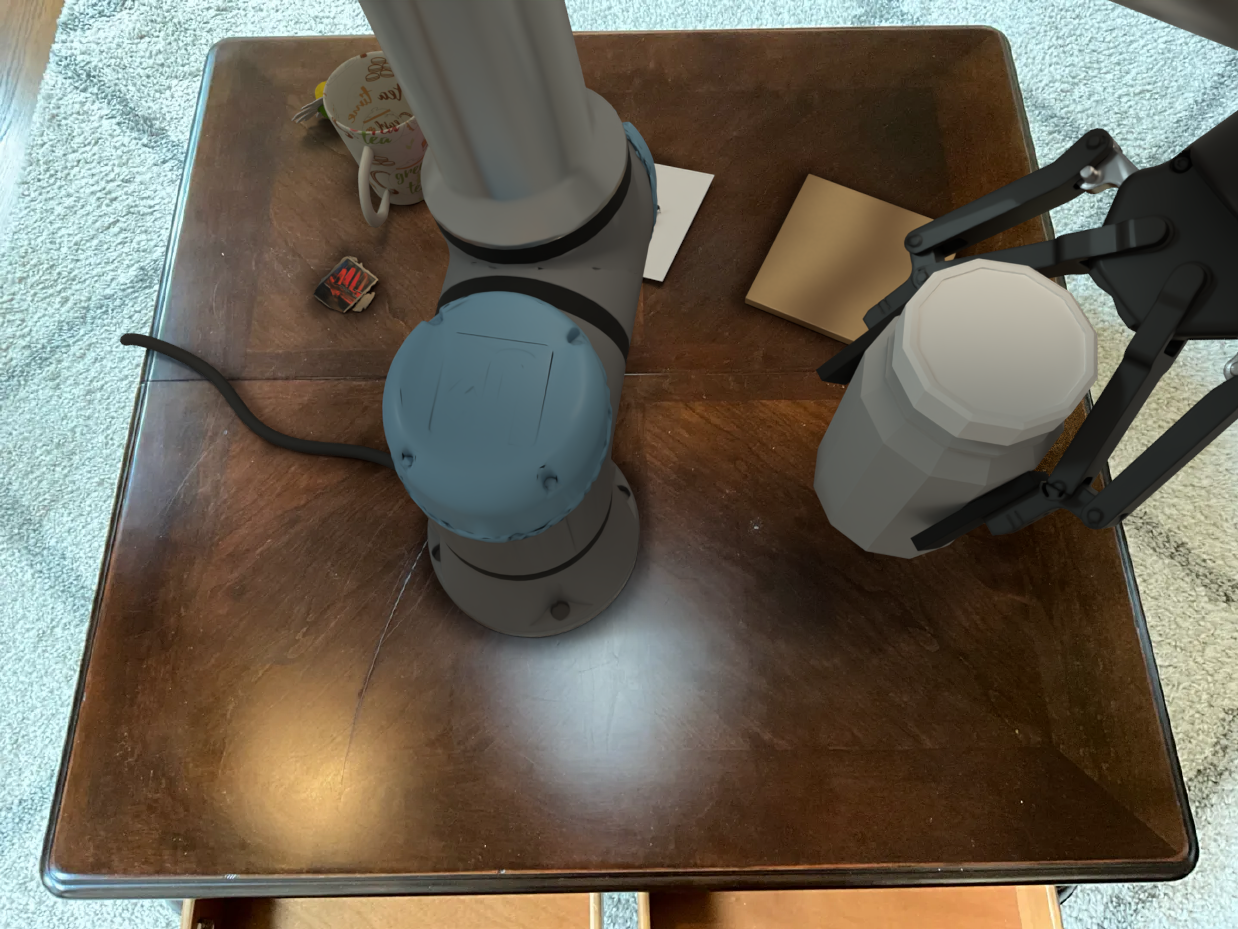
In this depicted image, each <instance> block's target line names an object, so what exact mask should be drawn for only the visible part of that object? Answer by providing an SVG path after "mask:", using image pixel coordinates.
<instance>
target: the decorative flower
mask: <svg viewBox="0 0 1238 929" xmlns="http://www.w3.org/2000/svg"><path fill="white" fill-rule="evenodd" d="M326 82H327V80H325V81H324V80H323V81H321V82H320V83H318V84H317V85H316V88H315V90H314V97H315V100H313V101H312V102H309V103H307V104H305V105H304V106H302V107H301V108H300V109H299V110H300V111H299V112H297V113H296V114H295V115H294V116H293V117H292V118H291V122H295V123H296V125H298V124H300V123H301V122H303V121H304V122H307V121H309V120H311V118H314V117H316V119H320V118H322V117H324V118H326V119H327V120H328V121H329V120H330V118H329V117H328V115H327V113H326V110H325V107H324V103H323V91H324V87H325V84H326ZM330 121H331V120H330Z"/></svg>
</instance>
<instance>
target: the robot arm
mask: <svg viewBox="0 0 1238 929" xmlns="http://www.w3.org/2000/svg"><path fill="white" fill-rule="evenodd" d="M1107 1H1109V2H1111V3H1114V4H1117V5H1119V6H1121V7H1124V8H1126V9H1129V10H1132V11H1135V12H1136V13H1139V14H1142V15H1145V16H1147V17H1149V18H1153V19H1155V20H1157V21H1160V22H1163V23H1165V24H1166V25H1167V24H1168V25H1170V26H1172V27H1175V28H1178V29H1180V30H1183V31H1186V32H1188V33H1191V34H1193V35H1196V36H1198V37H1201V38H1203V39H1206V40H1209V41H1211V42H1214V43H1216V44H1219V45H1221V46H1224V47H1227V48H1229V49H1232V50H1234V51H1237V52H1238V0H1107ZM357 2H358V4H359V6H360V8H361V10H362V12H363V14H364V16H365V18H366V20H367V22H368V24H369V26H370V28H371V31H372V33H373V35H374V37H375V39H376V41H377V43H378V45H379V48H380V49H381V51H383V53H384V55H385V57H386V59H387V61H388V63H389V65H390V67H391V70H392V72H393V74H394V76H395V78H396V80H397V82H398V84H399V86H400V88H401V90H402V92H403V94H404V96H405V98H406V100H407V102H408V104H409V106H410V109H411V111H412V113H413V115H414V117H415V119H416V121H417V123H418V125H419V127H420V129H421V131H422V133H423V135H424V137H425V139H426V141H427V143H428V147H427V150H426V152H425V155H424V158H423V162H422V167H421V186H422V192H423V196H424V200H423V201H425V204H426V206H427V208H428V211H429V212H430V215H431V216H432V218H433V219H434V222H435V224H436V226H437V228H438V229H439V231H440V233H441V234H442V237H443V238H444V241H445V243H446V245H447V248H448V251H449V258H448V259H449V260H448V261H449V262H448V266H447V269H446V273H445V276H444V280H443V284H442V288H441V291H440V294H439V298H438V302H437V305H436V309H435V313H434V316H433V317H432V318H431V319H430V320H428V321H427V320H421V321H420V322H419V323H418V324H417V325H416V326H415V327H414V328H413V329H412V330H411V331H410V333H409V334H408V335H407V336H406V337H405V339H404V340H403V342H402V344H401V346H400V347H399V349H398V350H397V352H396V353H395V355H394V357H393V359H392V361H391V363H390V366H389V368H388V371H387V375H386V379H385V383H384V388H383V394H382V404H381V405H382V406H381V407H382V424H383V425H382V426H383V430H384V436H385V440H386V443H387V446H388V448H389V451H390V453H388V452H386V451H383V450H380V449H377V448H373V447H369V446H364V445H359V444H353V443H342V442H331V441H317V440H311V439H304V438H300V437H299V438H298V437H295V436H292V435H288V434H285V433H282V432H280V431H278V430H276V429H274V428H272V427H271V426H269V425H267V424H265V423H264V422H263V421H261V420H260V419H259V418H258V417H257V416H256V415H254V413H253V412H252V411H251V409H250V408H249V407H248V405H246V403H245V402H244V400H243V398H241V397H240V395H239V393H238V392H237V390H236V389H235V388H234V387H233V385H232V384H231V383H230V382H229V380H227V378H226V377H225V376H224V375H223V374H222V372H220V371H219V370H218V369H217V368H215V367H214V365H211V364H210V363H208V362H207V361H206V360H204V359H202V358H201V357H199V356H197V355H195V354H194V353H192V352H189V350H186V349H183V348H181V347H180V346H177V345H175V344H173V343H170V342H168V341H166V340H162V339H159V338H156V337H154V336H150V335H146V334H143V333H137V332H127V333H124V334H122V335H121V336H120V339H119V343H120V344H121V345H122V346H125V347H128V346H129V347H130V346H134V347H140V348H143V349H146V350H149V351H150V350H151V351H154V352H156V353H159V354H162V355H164V356H166V357H169V358H170V359H174V360H175V361H178V362H180V363H182V364H184V365H185V366H188V367H189V368H191V369H193V370H195V371H197V372H198V373H200V374H201V375H202V376H204V377H205V378H206V379H207V380H209V382H211V383H212V384H213V386H215V387H216V389H218V391H219V392H220V394H221V395H222V397H223V398H224V399H225V401H226V402H227V403H228V405H229V407H230V408H231V409H232V411H233V412H234V413H235V415H236V416H237V417H238V418H239V419H240V420H241V422H242V423H243V424H244V425H245V426H246V427H247V428H248V429H249V430H251V432H253V433H254V434H256V435H257V436H258V437H259V438H261V439H263V440H265V441H267V442H268V443H271V444H273V445H274V446H278V447H281V448H283V449H286V450H291V451H294V452H298V453H304V454H310V455H319V456H321V455H322V456H331V457H333V456H334V457H344V458H352V459H358V460H363V461H367V462H370V463H371V462H372V463H374V464H378V465H380V466H383V467H386V468H388V469H391V470H393V471H394V472H396V474H397V476H398V478H399V480H400V481H401V483H402V484H403V487H404V489H405V490H406V492H407V494H408V495H409V497H410V499H411V500H413V502H414V503H415V504H416V505H417V506H418V507H419V508H420V509H421V510H422V512H423V513H424V515H425V516H426V517H427V518H428V519H427V520H428V521H427V544H428V545H427V546H428V552H429V557H430V562H431V565H432V567H433V568H432V569H433V571H434V573H435V575H436V577H437V579H438V582H439V583H440V585H441V587H442V589H443V590H444V591H445V593H446V594H447V595H448V597H449V598H450V600H452V602H453V603H454V604H455V605H456V606H457V607H458V608H459V610H461V611H462V612H463V613H464V614H465V615H466V616H468V617H469V618H471V619H472V620H473V621H475V622H476V623H478V624H480V625H482V626H483V627H486V628H487V629H491V630H492V631H495V632H498V633H501V634H503V635H508V636H514V637H521V638H541V637H549V636H555V635H559V634H562V633H566V632H569V631H571V630H574V629H576V628H579V627H581V626H583V625H585V624H587V623H588V622H590V621H592V620H593V619H594V618H596V617H597V616H599V615H600V614H602V612H604V611H605V610H606V609H607V608H608V607H609V606H610V605H611V604H612V603H613V602H614V601H615V600H616V599H617V597H618V596H619V595H620V593H621V592H622V590H623V589H624V587H625V586H626V585H627V582H628V581H629V579H630V577H631V574H632V572H633V570H634V567H635V563H636V560H637V558H638V553H639V546H640V529H641V528H640V526H641V525H640V515H639V510H638V505H637V501H636V499H635V495H634V493H633V491H632V488H631V486H630V483H629V482H628V480H627V478H626V476H625V475H624V473H623V472H622V470H621V469H620V467H619V466H618V465H617V464H616V463H615V461H614V460H613V459H612V453H613V452H612V451H613V443H614V437H615V431H616V425H617V419H618V414H619V409H620V403H621V398H622V392H623V388H624V382H625V381H624V380H625V375H626V368H627V362H628V357H629V353H630V347H631V343H632V337H633V331H634V327H635V321H636V316H637V311H638V307H639V300H640V294H641V290H642V285H643V279H644V277H643V274H644V269H645V264H646V259H647V253H648V248H649V243H650V241H651V239H652V234H653V232H654V226H655V224H656V219H657V207H658V199H657V176H656V170H655V165H654V163H655V161H654V158H653V155H652V153H651V151H650V149H649V147H648V145H647V142H646V140H645V138H644V137H643V136H642V135H641V133H640V132H639V130H638V129H637V127H635V125H634V124H633V123H632V122H631V121H623V122H622V120H621V118H620V116H619V114H618V112H617V109H615V108H614V107H613V106H612V104H611V103H610V102H609V101H608V100H607V99H606V98H605V97H603V96H602V95H600V94H599V93H597V92H596V91H594V90H592V89H591V88H588V87H587V86H586V82H585V79H584V78H585V77H584V75H583V74H584V73H583V70H582V66H581V62H580V58H579V54H578V53H579V52H578V49H577V44H576V41H575V37H574V32H573V29H572V25H571V21H570V17H569V13H568V9H567V5H566V0H357ZM1109 189H1117V190H1116V193H1115V195H1114V198H1113V200H1112V202H1111V205H1110V206H1109V209H1108V210H1107V213H1106V216H1105V218H1104V220H1103V223H1102V225H1101V226H1098V227H1093V228H1092V227H1091V228H1087V229H1083V230H1078V231H1073V232H1069V233H1064V234H1060V235H1058V236H1057V237H1055V238H1053V239H1048V240H1044V241H1043V240H1042V241H1039V242H1032V243H1029V244H1024V245H1018V246H1013V247H1009V248H1008V247H1007V248H1004V249H999V250H993V251H989V252H988V251H987V252H983V253H978V254H974V255H969V256H964V257H958V258H954V259H953V260H948V261H945V258H946V257H948V256H950V255H952V254H955V253H956V254H957V253H959V252H961V251H963V250H965V249H968V248H970V247H972V246H975V245H977V244H979V243H981V242H984V241H986V240H988V239H990V238H992V237H994V236H997V235H999V234H1001V233H1003V232H1006V231H1008V230H1010V229H1012V228H1014V227H1017V226H1019V225H1021V224H1023V223H1025V222H1028V221H1030V220H1032V219H1034V218H1036V217H1039V216H1041V215H1043V214H1045V213H1048V212H1050V211H1052V210H1054V209H1056V208H1059V207H1061V206H1063V205H1065V204H1067V203H1070V202H1071V201H1073V200H1075V199H1077V198H1078V197H1080V196H1081V195H1083V194H1084V193H1086V194H1087V195H1088V194H1089V195H1098V194H1101V193H1102V192H1104V191H1106V190H1109ZM904 247H905V249H906V250H907V251H908V252H909V254H910V259H911V264H912V271H911V274H910V276H909V278H908V279H907V280H906V281H905V282H904V283H903V284H902V285H900V286H899V287H898V288H896V289H895V290H894V291H893V292H891V293H890V294H889V295H887V296H886V297H885V298H884V299H882V300H881V301H880V302H878V304H876V305H874V306H873V307H872V308H870V309H869V310H868V311H867V313H866V314H865V316H864V317H863V321H864V323H865V324H866V326H867V328H868V329H869V330H868V331H866V332H865V333H864V334H862V335H861V336H860V337H859V338H857V339H856V340H855V341H853V342H852V343H851V344H849V345H848V344H847V345H846V346H845V347H843V348H842V349H841V350H840V351H838V352H837V353H836V354H835V355H833V356H832V357H831V358H829V359H828V360H826V361H825V362H824V363H823V364H821V365H820V366H819V367H817V368H816V369H815V372H816V373H817V375H818V377H819V379H820V381H821V382H824V383H828V384H829V383H830V384H836V385H842V386H848V385H849V384H850V382H851V380H852V378H853V376H854V374H855V371H856V369H857V367H858V365H859V363H860V361H861V359H862V357H863V355H864V353H865V351H866V350H867V349H868V348H869V346H870V345H871V344H872V343H873V342H874V341H875V340H876V338H877V337H878V336H879V335H880V334H881V333H882V331H883V330H884V329H885V328H886V327H887V326H888V325H889V323H890V322H891V321H892V320H893V319H894V318H895V317H897V316H900V315H901V313H902V311H903V309H904V307H905V306H906V304H907V303H908V302H909V300H910V299H911V298H912V297H913V296H914V295H915V294H916V292H917V291H918V290H919V289H920V288H921V287H922V286H923V284H924V283H925V282H926V281H927V280H928V279H929V277H930V276H931V275H932V274H933V273H934V272H937V271H940V270H943V269H946V268H950V267H953V266H956V265H959V264H962V263H966V262H969V261H972V260H975V259H985V260H992V261H998V262H1005V263H1012V264H1018V265H1025V266H1029V267H1031V268H1032V269H1034V270H1035V271H1037V272H1039V273H1040V274H1042V275H1043V276H1045V277H1047V278H1048V279H1054V278H1059V277H1064V276H1084V275H1088V276H1089V277H1090V278H1091V280H1092V281H1093V283H1094V284H1095V285H1096V286H1097V287H1098V288H1099V289H1101V291H1103V292H1105V293H1106V294H1107V295H1109V296H1110V297H1111V298H1112V301H1113V304H1114V308H1115V310H1116V313H1117V316H1118V317H1119V318H1120V319H1121V321H1122V322H1123V323H1124V325H1125V326H1126V328H1127V329H1128V330H1130V331H1132V332H1134V335H1133V336H1132V338H1131V339H1130V341H1129V342H1128V344H1127V346H1126V348H1125V350H1124V352H1123V356H1122V359H1121V360H1120V363H1119V364H1118V366H1117V368H1116V369H1115V370H1114V372H1113V374H1112V375H1111V377H1110V378H1109V380H1108V382H1107V384H1106V385H1105V386H1104V388H1103V390H1102V391H1101V393H1100V394H1099V396H1098V397H1097V399H1096V401H1095V402H1094V404H1093V406H1092V407H1091V409H1090V411H1089V412H1088V414H1087V415H1086V417H1085V418H1084V420H1083V422H1082V423H1081V425H1080V427H1079V428H1078V430H1077V431H1076V432H1075V435H1074V436H1073V437H1072V439H1071V441H1070V443H1069V444H1068V446H1067V447H1066V449H1065V450H1064V452H1063V453H1062V455H1061V456H1060V458H1059V460H1058V461H1057V463H1056V465H1055V467H1054V468H1053V470H1052V471H1051V473H1050V475H1049V474H1048V472H1047V471H1046V470H1045V471H1044V470H1043V471H1042V470H1033V471H1027V472H1025V473H1023V474H1022V475H1020V476H1018V477H1016V478H1015V479H1013V480H1011V481H1009V482H1008V483H1006V484H1004V485H1002V486H1001V487H999V488H997V489H995V490H994V491H992V492H990V493H988V494H987V495H985V496H983V497H981V498H980V499H978V500H976V501H974V502H973V503H971V504H969V505H967V506H966V507H964V508H962V509H960V510H959V511H957V512H955V513H953V514H952V515H950V516H948V517H946V518H945V519H943V520H941V521H939V522H938V523H936V524H934V525H932V526H930V527H929V528H927V529H925V530H923V531H922V532H920V533H918V534H916V535H915V536H913V537H911V538H910V539H911V540H912V542H913V544H914V546H915V547H916V549H917V551H924V550H931V549H936V550H939V549H942V548H943V547H942V546H944V545H946V544H948V543H950V542H951V541H953V540H954V541H955V540H957V539H959V538H961V537H962V536H964V535H966V534H969V533H970V532H971V531H973V530H975V529H977V528H979V527H981V526H983V525H984V524H985V525H986V527H987V529H988V531H989V532H990V534H991V535H992V536H1001V535H1009V534H1015V533H1017V532H1019V531H1021V530H1023V529H1024V528H1026V527H1028V526H1030V525H1032V524H1033V523H1035V522H1038V521H1040V520H1041V519H1043V518H1045V517H1047V516H1049V515H1051V514H1052V513H1055V512H1056V511H1058V510H1061V509H1063V510H1066V511H1068V512H1070V513H1071V514H1072V515H1074V516H1075V517H1077V519H1079V520H1080V521H1081V524H1083V525H1084V526H1085V527H1086V528H1089V529H1090V530H1095V531H1096V530H1104V529H1109V528H1110V529H1111V528H1115V527H1116V526H1118V525H1120V524H1121V523H1122V522H1124V520H1125V519H1127V518H1128V517H1129V516H1130V515H1131V514H1133V512H1135V511H1136V510H1137V509H1138V508H1139V507H1140V506H1141V505H1142V504H1144V503H1145V502H1146V501H1147V500H1148V499H1149V498H1151V497H1152V496H1153V494H1155V493H1156V492H1157V491H1158V490H1160V488H1162V487H1163V486H1165V484H1166V483H1167V482H1168V481H1169V480H1171V479H1172V478H1173V477H1174V476H1175V475H1176V474H1178V473H1179V472H1180V471H1181V470H1182V469H1183V468H1184V467H1185V466H1186V465H1188V464H1189V463H1191V461H1193V459H1194V458H1196V457H1197V456H1198V455H1199V454H1200V453H1201V452H1202V451H1204V449H1206V448H1207V447H1208V446H1209V445H1210V444H1211V443H1212V442H1214V441H1215V440H1216V439H1217V438H1218V437H1219V436H1220V435H1221V434H1223V433H1224V432H1225V431H1226V430H1227V429H1228V428H1230V426H1232V425H1233V424H1234V423H1235V422H1237V420H1238V351H1237V352H1236V353H1235V355H1233V357H1231V358H1230V359H1229V360H1228V361H1227V362H1226V363H1225V364H1224V367H1223V370H1222V372H1223V373H1222V374H1223V376H1224V381H1223V382H1221V383H1219V384H1218V385H1217V386H1215V387H1214V388H1212V389H1211V390H1210V391H1208V392H1207V393H1206V394H1205V395H1204V396H1202V397H1201V398H1200V399H1199V400H1198V401H1197V402H1196V403H1195V404H1194V405H1193V406H1191V407H1190V408H1189V409H1188V410H1187V411H1186V412H1185V413H1184V414H1183V415H1182V416H1181V417H1179V419H1177V420H1176V421H1175V422H1174V423H1173V424H1172V425H1171V426H1169V427H1168V428H1167V430H1165V432H1163V433H1162V434H1161V435H1160V436H1159V437H1157V439H1155V441H1153V442H1152V443H1151V444H1150V445H1149V446H1148V447H1146V449H1145V450H1143V451H1142V452H1141V453H1140V454H1139V455H1138V456H1137V457H1136V458H1135V459H1134V460H1133V461H1132V462H1130V463H1129V464H1128V465H1127V466H1126V467H1125V468H1124V469H1123V470H1121V472H1120V473H1119V474H1117V475H1116V476H1115V477H1114V478H1113V479H1112V480H1110V482H1109V483H1108V484H1107V485H1105V486H1104V488H1102V489H1101V490H1100V491H1098V490H1096V489H1095V488H1094V487H1093V484H1094V482H1095V481H1096V479H1097V478H1098V476H1099V475H1100V473H1101V471H1102V470H1103V468H1104V467H1105V465H1106V464H1107V463H1108V461H1109V459H1110V458H1111V456H1112V454H1113V453H1114V451H1115V450H1116V448H1117V447H1118V445H1119V444H1120V442H1121V441H1122V440H1123V438H1124V436H1125V434H1126V433H1127V431H1128V430H1129V429H1130V427H1131V425H1132V424H1133V422H1134V420H1135V419H1136V417H1137V416H1138V414H1139V413H1140V411H1141V410H1142V408H1143V407H1144V405H1145V404H1146V402H1147V400H1148V399H1149V397H1150V396H1151V394H1152V393H1153V391H1154V390H1155V388H1156V386H1157V385H1158V384H1159V382H1160V380H1161V379H1162V377H1163V376H1164V375H1166V374H1167V373H1168V372H1169V370H1170V369H1171V368H1172V366H1173V365H1174V363H1175V362H1176V360H1177V359H1178V357H1179V356H1180V354H1181V353H1182V351H1183V350H1184V348H1185V346H1186V345H1187V343H1188V342H1189V341H1238V109H1237V110H1235V111H1234V112H1232V114H1230V115H1228V116H1227V117H1225V118H1224V119H1223V120H1221V121H1220V122H1218V123H1217V124H1216V125H1214V126H1213V127H1212V128H1211V129H1209V130H1208V131H1205V133H1204V134H1202V135H1201V136H1199V137H1198V138H1197V139H1195V140H1193V141H1192V142H1190V144H1188V145H1187V146H1186V147H1184V149H1183V148H1182V150H1181V151H1180V152H1178V153H1177V154H1176V155H1175V156H1173V157H1172V158H1170V159H1168V160H1166V161H1164V162H1163V163H1159V164H1156V165H1152V166H1148V167H1144V168H1140V169H1139V168H1138V167H1137V165H1135V164H1134V163H1133V162H1132V161H1131V160H1130V159H1129V157H1127V156H1126V154H1124V152H1123V149H1122V147H1121V146H1120V144H1119V143H1118V142H1117V141H1116V140H1115V139H1114V137H1113V136H1112V135H1111V133H1109V132H1108V130H1106V129H1104V128H1101V127H1095V128H1092V129H1090V130H1088V131H1087V132H1085V133H1084V134H1083V135H1082V136H1080V138H1078V139H1077V140H1075V142H1073V144H1071V146H1069V147H1068V148H1067V149H1066V150H1065V151H1064V152H1063V153H1061V155H1060V156H1058V157H1057V158H1056V159H1055V160H1054V161H1053V162H1050V163H1048V164H1047V165H1044V166H1042V167H1039V168H1038V169H1036V170H1034V171H1032V172H1030V173H1028V174H1026V175H1024V176H1022V177H1020V178H1017V179H1015V180H1014V181H1012V182H1009V183H1007V184H1005V185H1002V186H1001V187H999V188H996V189H995V190H993V191H991V192H989V193H987V194H985V195H982V196H981V197H978V198H976V199H974V200H972V201H970V202H968V203H966V204H964V205H962V206H960V207H958V208H956V209H955V208H954V209H953V210H951V211H950V212H947V213H945V214H943V215H941V216H938V217H937V218H935V219H933V221H931V222H929V223H927V224H924V225H922V226H920V227H918V228H916V229H914V230H912V231H911V232H909V233H908V234H907V236H906V237H905V240H904ZM956 254H955V255H956ZM954 541H953V542H954ZM941 547H942V548H941ZM938 548H939V549H938Z"/></svg>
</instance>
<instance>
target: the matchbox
mask: <svg viewBox="0 0 1238 929" xmlns="http://www.w3.org/2000/svg"><path fill="white" fill-rule="evenodd" d="M377 281H379V278H377V275H374V274H373V273H371V271H369V269H366V268H365V267H364V266H363V262H360V263H359V262H358V258H357V257H355V256H352V255H347V254H346V255H345V256H344V257H343V258H341V260H340V261H339V262H338V264H335V265H334V267H333V268H332V269H331V270H330V272H329V273H327V275H326V276H323V277H322V278H321V279H320V281H319V283H318V285H317V286H316V288H315V290H314V292H313V293H312V295H313V296H314V297H315V298H316V299H317V300H318V301H320V302H322V305H323V304H324V306H327V307H328V308H330V309H333V310H336V311H338V312H340V313H346V312H347V311H348V310H351V311H354V312H362V311H363V309H364V310H366V309H367V307H369V304H370V303H371V302H372V300H373V299H374V297H375V295H376V293H375V291H371V294H370V293H367V292H370V290H371V288H372V287H373V286H374V285H376V283H377ZM355 303H356V304H355ZM354 305H355V306H354ZM353 306H354V307H353ZM352 307H353V308H352Z"/></svg>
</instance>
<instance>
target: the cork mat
mask: <svg viewBox="0 0 1238 929" xmlns="http://www.w3.org/2000/svg"><path fill="white" fill-rule="evenodd" d="M933 220H934V219H933V218H930V217H927V216H925V215H922V214H919V213H917V212H914V211H911V210H909V209H907V208H903V207H901V206H898V205H896V204H893V203H890V202H888V201H884V200H882V199H879V198H876V197H874V196H871V195H868V194H865V193H863V192H860V191H857V190H854V189H853V188H849V187H847V186H844V185H841V184H839V183H836V182H833V181H830V180H827V179H825V178H822V177H820V176H817V175H814V174H811V173H808V174H807V176H806V178H805V180H804V182H803V184H802V186H801V188H800V190H799V192H798V194H797V195H796V198H795V199H794V202H793V203H792V206H791V207H790V210H789V211H788V214H787V216H786V217H785V218H784V221H783V223H782V225H781V227H780V229H779V231H778V233H777V235H776V237H775V239H774V241H773V243H772V244H771V247H770V249H769V251H768V253H767V255H766V257H765V258H764V261H763V263H762V265H761V266H760V268H759V270H758V273H757V274H756V276H755V279H754V280H753V282H752V284H751V286H750V288H749V290H748V292H747V294H746V295H745V299H744V304H747V305H748V306H751V307H754V308H756V309H758V310H762V311H764V312H767V313H768V314H772V315H773V316H777V317H779V318H781V319H784V320H787V321H789V322H791V323H794V324H797V325H799V326H801V327H803V328H806V329H809V330H810V331H814V332H816V333H819V334H821V335H824V336H826V337H828V338H831V339H833V340H835V341H839V342H841V343H844V344H846V345H847V346H848V345H849V344H851V343H852V342H853V341H855V340H856V339H857V338H859V337H860V336H861V335H862V334H864V333H865V332H866V331H868V330H869V329H868V328H867V326H866V324H865V323H864V321H863V317H864V316H865V314H866V313H867V311H868V310H869V309H870V308H872V307H873V306H874V305H876V304H878V302H880V301H881V300H882V299H884V298H885V297H886V296H887V295H889V294H890V293H891V292H893V291H894V290H895V289H896V288H898V287H899V286H900V285H902V284H903V283H904V282H905V281H906V280H907V279H908V278H909V276H910V274H911V271H912V264H911V259H910V254H909V252H908V251H907V250H906V249H905V247H904V240H905V237H906V236H907V234H908V233H909V232H911V231H912V230H914V229H916V228H918V227H920V226H922V225H924V224H927V223H929V222H931V221H933ZM956 254H957V253H955V254H952V255H950V256H948V257H946V258H945V261H948V260H953V259H955V258H956Z"/></svg>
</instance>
